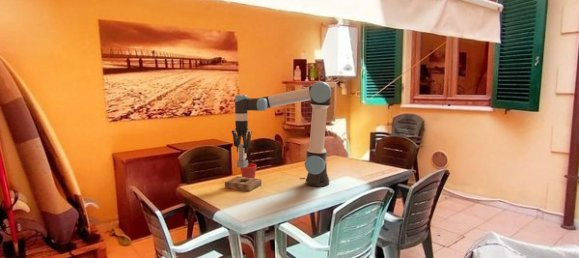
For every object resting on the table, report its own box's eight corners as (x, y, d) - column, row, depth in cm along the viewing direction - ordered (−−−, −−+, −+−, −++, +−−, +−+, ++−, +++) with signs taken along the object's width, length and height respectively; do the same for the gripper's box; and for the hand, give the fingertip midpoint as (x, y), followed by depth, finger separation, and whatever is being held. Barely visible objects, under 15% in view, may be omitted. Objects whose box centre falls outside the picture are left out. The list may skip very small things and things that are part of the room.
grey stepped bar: (248, 166, 215) (247, 144, 213) (243, 167, 211) (243, 145, 209) (241, 165, 217) (240, 143, 216) (236, 167, 213) (236, 144, 211)
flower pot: (254, 181, 226) (253, 167, 225) (238, 181, 229) (237, 166, 227) (258, 177, 237) (258, 163, 235) (243, 176, 239) (243, 163, 238)
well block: (261, 185, 218) (261, 179, 218) (249, 191, 206) (249, 185, 205) (237, 182, 226) (237, 176, 225) (224, 188, 213) (224, 181, 213)
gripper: (256, 120, 210) (256, 157, 213) (233, 119, 217) (234, 155, 220) (249, 121, 204) (250, 160, 207) (226, 120, 210) (227, 158, 213)
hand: (242, 157), depth 213 cm, fingers closed on grey stepped bar, 3 cm apart
